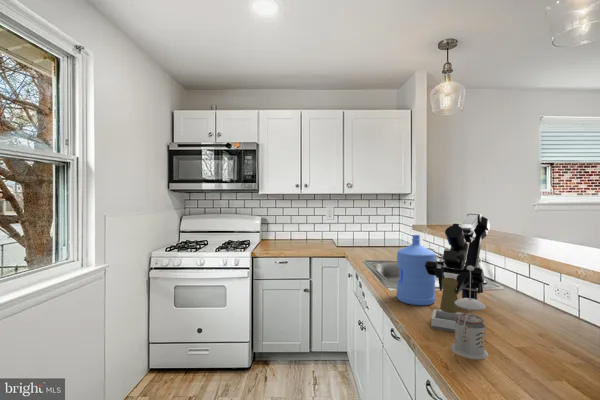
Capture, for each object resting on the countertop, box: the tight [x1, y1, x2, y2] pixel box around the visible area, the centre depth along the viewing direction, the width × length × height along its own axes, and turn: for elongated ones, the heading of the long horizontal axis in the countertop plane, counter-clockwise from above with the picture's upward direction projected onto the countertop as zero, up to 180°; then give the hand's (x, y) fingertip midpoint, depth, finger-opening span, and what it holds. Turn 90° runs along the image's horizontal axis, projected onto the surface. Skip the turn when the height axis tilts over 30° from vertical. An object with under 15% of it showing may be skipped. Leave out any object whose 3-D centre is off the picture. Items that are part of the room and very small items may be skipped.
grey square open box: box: [430, 308, 464, 334], centre depth 114 cm, size 10×10×4 cm
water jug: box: [396, 234, 436, 306], centre depth 141 cm, size 16×16×28 cm
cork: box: [439, 277, 460, 313], centre depth 113 cm, size 6×6×11 cm
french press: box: [450, 266, 489, 360], centre depth 95 cm, size 10×12×25 cm
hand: (448, 291), depth 112 cm, fingers closed on cork, 5 cm apart
